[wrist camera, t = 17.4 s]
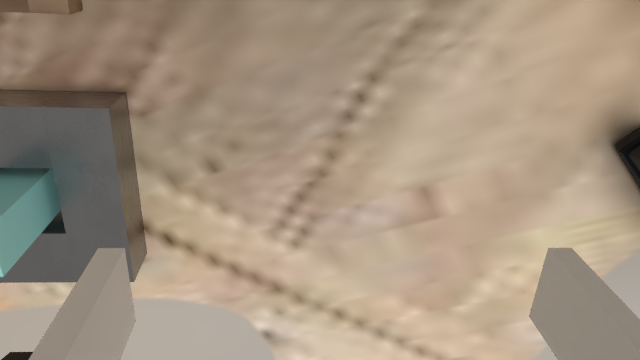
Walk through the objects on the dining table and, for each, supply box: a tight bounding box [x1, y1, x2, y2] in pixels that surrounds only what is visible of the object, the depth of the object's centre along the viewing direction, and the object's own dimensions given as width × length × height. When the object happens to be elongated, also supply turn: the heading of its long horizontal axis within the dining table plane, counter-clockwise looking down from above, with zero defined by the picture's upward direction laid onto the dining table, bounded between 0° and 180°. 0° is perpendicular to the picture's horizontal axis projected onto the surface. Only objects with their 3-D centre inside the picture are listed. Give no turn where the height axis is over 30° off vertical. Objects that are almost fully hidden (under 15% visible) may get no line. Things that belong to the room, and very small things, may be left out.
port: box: [0, 90, 147, 283], centre depth 42 cm, size 16×16×4 cm
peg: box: [0, 168, 61, 277], centre depth 38 cm, size 4×4×12 cm
